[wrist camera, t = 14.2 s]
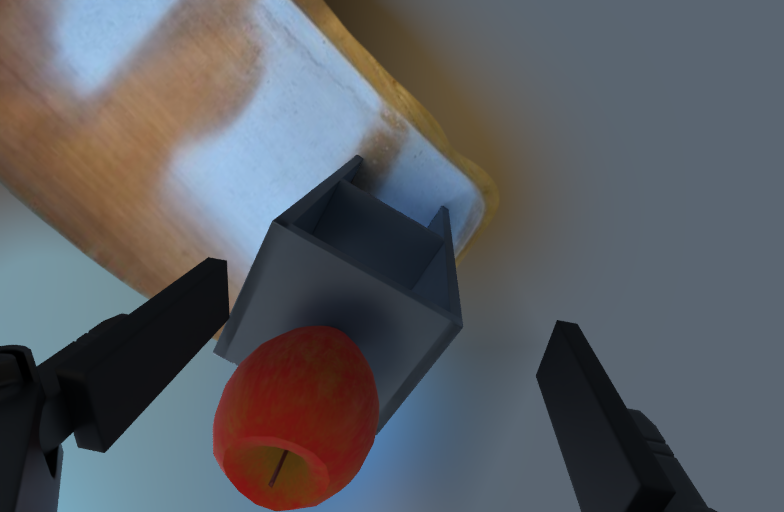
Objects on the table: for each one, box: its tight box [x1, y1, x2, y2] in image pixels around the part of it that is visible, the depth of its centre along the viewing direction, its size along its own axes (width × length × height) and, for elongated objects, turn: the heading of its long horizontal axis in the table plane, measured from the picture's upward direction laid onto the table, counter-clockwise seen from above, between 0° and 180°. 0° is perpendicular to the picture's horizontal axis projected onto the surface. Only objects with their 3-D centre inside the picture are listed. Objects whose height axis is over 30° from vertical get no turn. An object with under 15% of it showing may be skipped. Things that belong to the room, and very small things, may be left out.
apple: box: [213, 326, 379, 511], centre depth 21 cm, size 9×8×11 cm
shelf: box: [213, 155, 463, 435], centre depth 39 cm, size 12×14×28 cm
